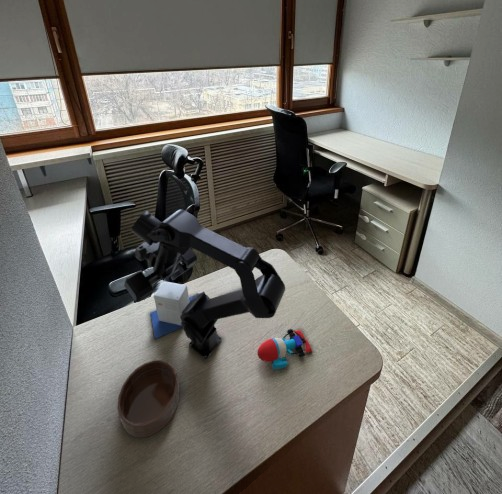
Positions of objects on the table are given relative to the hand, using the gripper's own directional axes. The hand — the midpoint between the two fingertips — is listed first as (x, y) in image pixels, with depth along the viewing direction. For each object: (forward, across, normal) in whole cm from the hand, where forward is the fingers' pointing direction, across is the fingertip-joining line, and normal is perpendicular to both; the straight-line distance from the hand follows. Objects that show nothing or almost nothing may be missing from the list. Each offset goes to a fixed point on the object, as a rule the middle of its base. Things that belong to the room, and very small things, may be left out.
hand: (158, 288), depth 75 cm
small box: (+12, -4, +6) cm, 14 cm away
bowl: (+9, +12, +18) cm, 24 cm away
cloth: (+12, -5, +6) cm, 14 cm away
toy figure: (0, -15, +35) cm, 38 cm away
